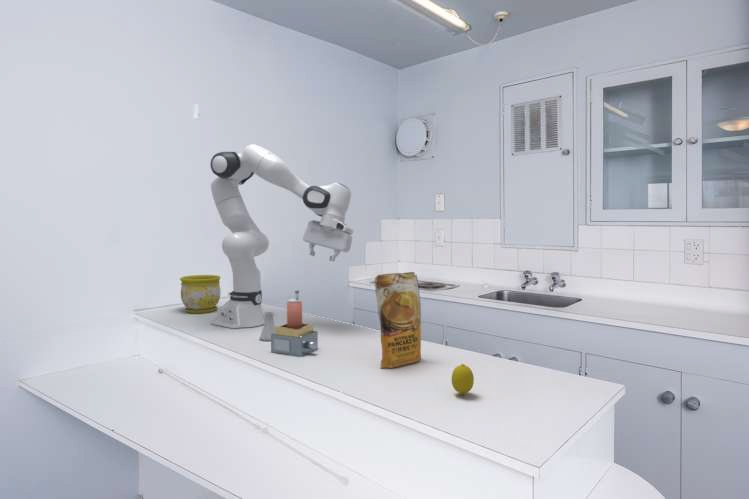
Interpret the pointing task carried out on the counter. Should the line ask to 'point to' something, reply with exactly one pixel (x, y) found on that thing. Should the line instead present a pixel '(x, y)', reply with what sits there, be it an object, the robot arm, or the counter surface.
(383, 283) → the pancake mix bag
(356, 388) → the counter surface
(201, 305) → the flowerpot
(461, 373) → the lemon
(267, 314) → the flask
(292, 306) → the spout can
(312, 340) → the box
